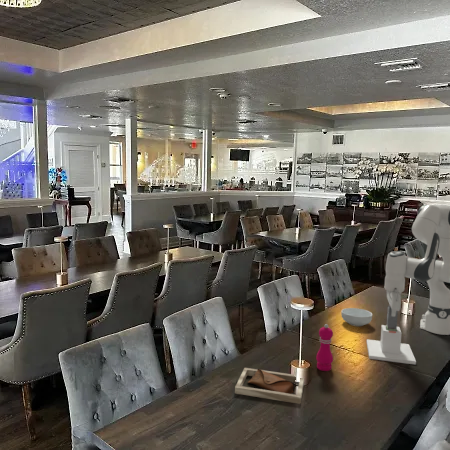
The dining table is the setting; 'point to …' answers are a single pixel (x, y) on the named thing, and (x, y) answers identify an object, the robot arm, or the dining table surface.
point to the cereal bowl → (356, 316)
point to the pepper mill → (325, 349)
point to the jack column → (391, 320)
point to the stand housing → (390, 347)
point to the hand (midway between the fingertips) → (392, 314)
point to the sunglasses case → (272, 382)
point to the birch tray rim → (266, 393)
